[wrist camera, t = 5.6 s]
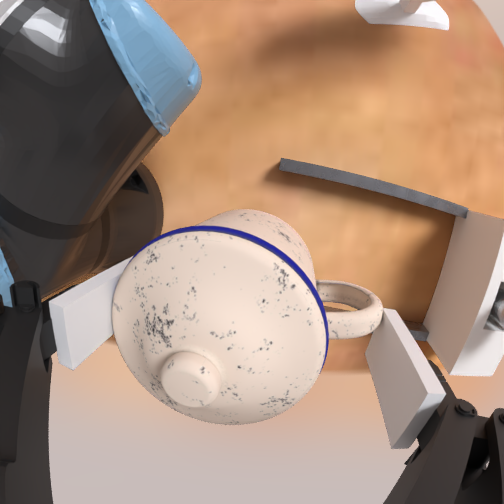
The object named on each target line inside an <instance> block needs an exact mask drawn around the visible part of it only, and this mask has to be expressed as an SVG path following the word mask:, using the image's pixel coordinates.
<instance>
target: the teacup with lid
mask: <svg viewBox="0 0 504 504" xmlns="http://www.w3.org/2000/svg"><path fill="white" fill-rule="evenodd" d="M322 302H335V303H342V304H346V305H349V306H351V307H354V308H356V309H357V311H350V312H325V309H324V306H323V303H322ZM382 313H383V306H382V303H381V301H380V299H379V298H378V297H377V296H376V295H375V294H374V293H372V292H371V291H369V290H368V289H366V288H364V287H361V286H359V285H356V284H353V283H349V282H343V281H335V280H316V279H315V275H314V268H313V263H312V259H311V256H310V253H309V250H308V248H307V246H306V244H305V243H304V241H303V240H302V238H301V237H300V236H299V234H298V233H297V232H296V231H295V230H294V229H293V228H292V227H291V226H290V225H288V224H287V223H286V222H284V221H283V220H281V219H280V218H278V217H276V216H274V215H271V214H269V213H266V212H262V211H258V210H251V209H238V210H232V211H227V212H224V213H221V214H219V215H216V216H214V217H212V218H210V219H208V220H206V221H204V222H202V223H200V224H198V225H195V226H190V227H185V228H180V229H176V230H173V231H170V232H167V233H165V234H163V235H160V236H158V237H157V238H155V239H153V240H152V241H150V242H149V243H147V244H146V245H145V246H143V247H142V248H141V249H140V250H139V251H138V252H137V253H136V254H135V255H134V256H133V257H132V259H131V260H130V261H129V263H128V264H127V266H126V267H125V269H124V271H123V273H122V275H121V277H120V279H119V281H118V284H117V287H116V290H115V294H114V298H113V306H112V323H113V330H114V335H115V339H116V342H117V345H118V348H119V350H120V353H121V355H122V357H123V359H124V361H125V363H126V364H127V366H128V367H129V369H130V371H131V372H132V373H133V375H134V376H135V378H136V379H137V380H138V381H139V382H140V383H141V385H142V386H143V387H144V388H145V389H146V390H147V391H149V392H150V393H151V394H152V395H153V396H154V397H156V398H157V399H158V400H159V401H161V402H162V403H164V404H165V405H167V406H169V407H170V408H172V409H174V410H176V411H178V412H180V413H182V414H184V415H187V416H189V417H192V418H195V419H198V420H201V421H205V422H210V423H215V424H225V425H241V424H250V423H255V422H259V421H263V420H267V419H270V418H272V417H274V416H277V415H279V414H281V413H283V412H284V411H286V410H288V409H289V408H291V407H292V406H294V405H295V404H296V403H297V402H298V401H299V400H301V399H302V398H303V397H304V396H305V394H307V392H308V391H309V390H310V389H311V387H312V386H313V384H314V383H315V381H316V379H317V378H318V376H319V374H320V372H321V370H322V368H323V365H324V363H325V359H326V356H327V350H328V343H329V339H351V338H358V337H362V336H365V335H367V334H369V333H371V332H373V331H374V330H375V329H377V327H378V326H379V325H380V323H381V319H382Z"/></svg>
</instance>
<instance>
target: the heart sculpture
mask: <svg viewBox="0 0 504 504" xmlns="http://www.w3.org/2000/svg"><path fill="white" fill-rule="evenodd" d="M355 8H356V10H357V11H358V13H359V14H360V15H361V16H362V17H363V18H364V19H365V20H366V21H367V22H368V23H369V24H393V25H408V26H419V27H428V28H436V29H443V30H448V29H449V19H448V16H447V14H446V13H445V11H444V10H443V9H442V8H441V7H440V6H439V5H438V4H437V3H436V2H435V0H356V1H355Z"/></svg>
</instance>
